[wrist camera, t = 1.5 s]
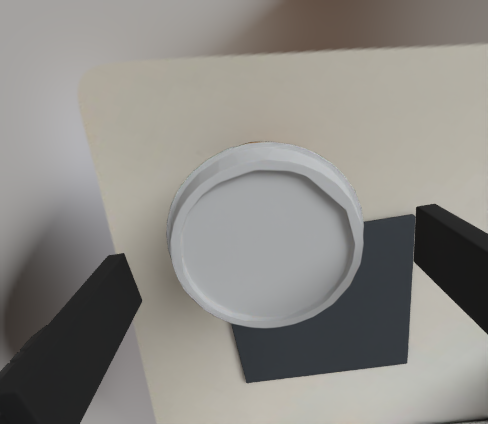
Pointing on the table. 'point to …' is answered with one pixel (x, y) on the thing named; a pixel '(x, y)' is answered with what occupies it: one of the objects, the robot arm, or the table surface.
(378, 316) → the mat
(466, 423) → the laptop
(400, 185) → the table surface
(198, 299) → the disposable coffee cup
